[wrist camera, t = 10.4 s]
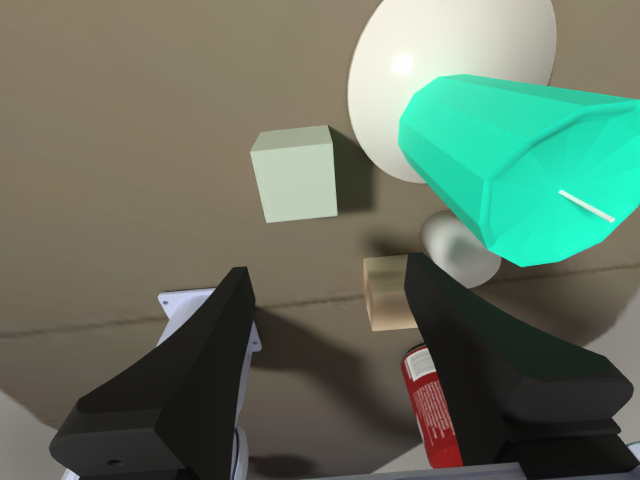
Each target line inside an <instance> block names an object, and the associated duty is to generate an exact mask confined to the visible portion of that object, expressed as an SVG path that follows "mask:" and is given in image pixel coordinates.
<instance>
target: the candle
mask: <svg viewBox="0 0 640 480" xmlns="http://www.w3.org/2000/svg"><path fill="white" fill-rule="evenodd" d="M398 145H399V147H400V149H401V151H402V153H403V155H404V156H405V158H406V160H407V162H408V163H409V165H410V166H411V167H412V168H413V169H414V170H415V171H416V172H417V173H418V174H419V175H420V177H421V178H422V179H423V180H424V181H425V182H426V183H427V184H428V185H429V186H430V187H431V189H432V190H433V191H434V192H435V193H436V194H437V195H438V196H439V197H440V198H441V199H442V200H443V202H444V203H445V204H446V205H447V206H448V207H449V208H450V209H451V210H452V211H453V212H454V214H455V215H456V216H457V217H458V218H459V219H460V220H461V221H462V222H463V223H464V224H465V226H466V227H467V228H468V229H469V230H470V231H471V232H472V233H473V234H474V235H475V236H476V238H477V239H478V240H479V241H480V242H481V243H482V244H483V245H484V246H485V247H486V248H487V249H488V250H489V251H491V252H493V253H495V254H497V255H499V256H501V257H503V258H505V259H507V260H509V261H511V262H513V263H515V264H517V265H519V266H521V267H526V266H533V265H539V264H546V263H553V262H560V261H562V260H564V259H566V258H568V257H570V256H572V255H574V254H577V253H579V252H581V251H583V250H585V249H587V248H589V247H591V246H593V245H596V244H598V243H600V242H602V241H603V240H604V239H605V238H606V237H607V236H608V235H609V234H610V233H611V232H612V231H613V230H614V229H615V228H616V227H617V226H618V225H619V224H621V223H622V222H623V221H624V220H625V219H626V218H627V217H628V216H629V215H630V214H631V213H632V212H633V211H634V210H635V209H636V208H637V207H638V206H639V205H640V100H638V99H631V98H624V97H617V96H611V95H604V94H597V93H590V92H584V91H577V90H570V89H563V88H557V87H550V86H543V85H536V84H530V83H523V82H516V81H509V80H503V79H496V78H489V77H482V76H476V75H469V74H459V75H450V76H440V77H437V78H436V79H434V80H433V81H431V82H430V83H429V84H427V85H426V86H424V87H423V88H422V89H420V90H419V91H417V92H416V93H414V95H413V96H412V98H411V100H410V102H409V103H408V105H407V107H406V109H405V110H404V112H403V114H402V116H401V117H400V119H399V135H398Z"/></svg>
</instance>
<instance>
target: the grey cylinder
mask: <svg viewBox="0 0 640 480" xmlns="http://www.w3.org/2000/svg"><path fill="white" fill-rule="evenodd" d="M420 240H421V242H422V243H423V245H424V247H425V248H426V250H427V252H428V253H429V255H430V257H431V258H432V260H433V262H434V263H435V264H437V265H438V266H439V267H440V268H441V269H443V270H444V271H445V272H446V273H448V274H449V275H450V276H451V277H453V278H454V279H455V280H457V281H458V282H459V283H461V284H462V285H463V286H465V287H466V288H473V287H476V286H479V285H481V284H483V283H485V282H486V281H488V280H489V279H490V278H492V277H493V276H494V275H495V273H496V272H497V271H498V269H499V267H500V264H501V256H499V255H497V254H495V253H493V252H491V251H489V250H488V249H487V248H486V247H485V246H484V245H483V244H482V243H481V242H480V241H479V240H478V239H477V238H476V236H475V235H474V234H473V233H472V232H471V231H470V230H469V229H468V228H467V227H466V226H465V224H464V223H463V222H462V221H461V220H460V219H459V218H458V217H457V216H456V215H455V214H454V212H453V211H452V210H443V211H439V212H437V213H435V214H433V215H432V216H430V217H429V218H428V219H427V220H426V221H425V222H424V224H423V225H422V227H421V230H420Z"/></svg>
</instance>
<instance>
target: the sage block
mask: <svg viewBox="0 0 640 480" xmlns="http://www.w3.org/2000/svg"><path fill="white" fill-rule="evenodd" d="M250 153H251V158H252V162H253V166H254V171H255V175H256V179H257V184H258V188H259V192H260V197H261V201H262V205H263V210H264V214H265V218H266V223H270V222H280V221H289V220H299V219H309V218H319V217H329V216H337V202H336V187H335V172H334V158H333V143H332V139H331V136H330V132H329V128H328V125H323V126H314V127H304V128H295V129H286V130H277V131H268V132H261V133H260V135H259V137H258V138H257V140H256V142H255V144H254V146H253V148H252V149H251V151H250Z"/></svg>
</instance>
